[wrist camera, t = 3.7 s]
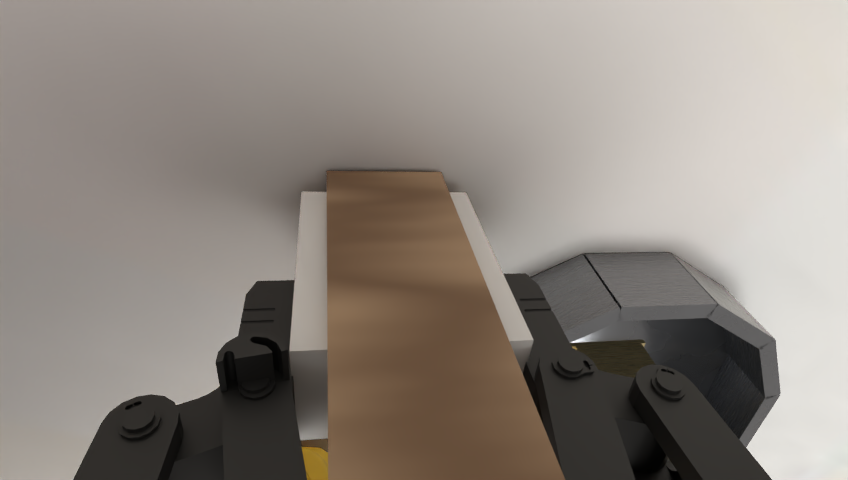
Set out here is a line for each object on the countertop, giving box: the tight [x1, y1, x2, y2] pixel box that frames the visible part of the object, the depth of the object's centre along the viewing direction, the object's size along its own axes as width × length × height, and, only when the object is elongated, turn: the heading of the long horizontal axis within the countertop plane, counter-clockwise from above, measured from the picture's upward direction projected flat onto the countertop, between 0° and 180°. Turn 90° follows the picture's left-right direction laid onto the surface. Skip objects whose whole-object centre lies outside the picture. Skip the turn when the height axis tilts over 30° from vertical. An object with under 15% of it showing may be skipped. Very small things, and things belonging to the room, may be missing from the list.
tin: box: [531, 253, 780, 447], centre depth 22 cm, size 13×13×3 cm
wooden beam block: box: [327, 171, 565, 480], centre depth 12 cm, size 4×4×12 cm
